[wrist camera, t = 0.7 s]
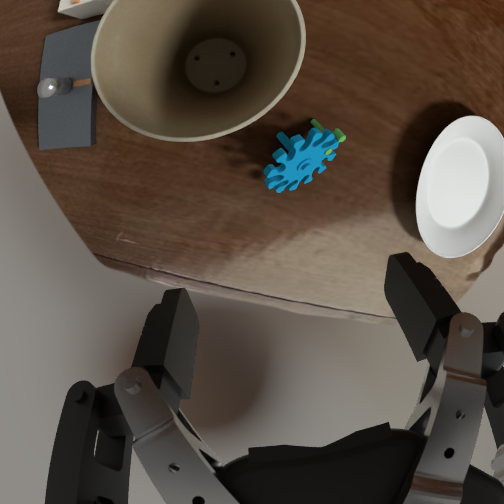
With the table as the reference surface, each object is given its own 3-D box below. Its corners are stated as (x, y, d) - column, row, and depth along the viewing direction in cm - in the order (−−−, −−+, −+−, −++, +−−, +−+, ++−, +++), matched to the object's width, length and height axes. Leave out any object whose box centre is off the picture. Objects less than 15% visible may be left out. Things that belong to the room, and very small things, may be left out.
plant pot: (210, -6, 21) (188, -68, 7) (302, 62, 26) (350, 38, 13) (131, 80, 26) (57, 77, 13) (219, 145, 32) (201, 184, 18)
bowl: (471, 253, 42) (481, 263, 39) (383, 237, 40) (393, 249, 37) (509, 143, 29) (522, 148, 26) (425, 87, 27) (439, 88, 24)
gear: (279, 206, 35) (259, 172, 25) (256, 173, 36) (231, 134, 27) (347, 162, 33) (350, 117, 24) (321, 133, 35) (315, 85, 25)
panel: (51, 37, 20) (26, 34, 15) (106, 21, 21) (84, 13, 16) (45, 147, 29) (20, 158, 24) (95, 143, 30) (73, 154, 25)
